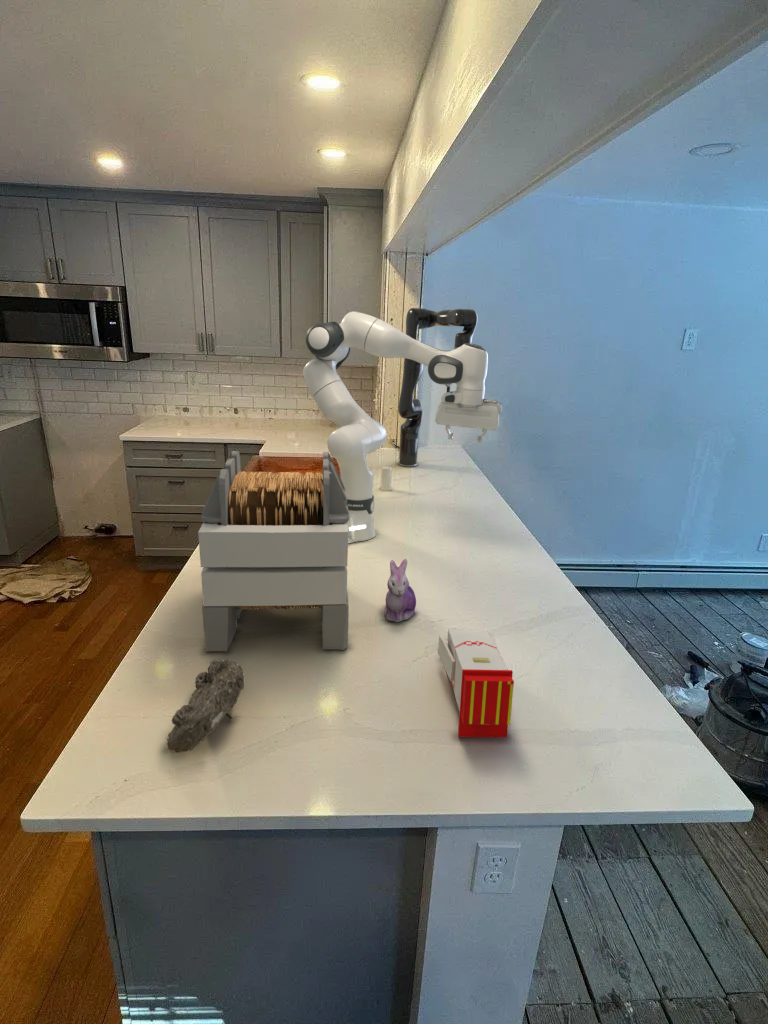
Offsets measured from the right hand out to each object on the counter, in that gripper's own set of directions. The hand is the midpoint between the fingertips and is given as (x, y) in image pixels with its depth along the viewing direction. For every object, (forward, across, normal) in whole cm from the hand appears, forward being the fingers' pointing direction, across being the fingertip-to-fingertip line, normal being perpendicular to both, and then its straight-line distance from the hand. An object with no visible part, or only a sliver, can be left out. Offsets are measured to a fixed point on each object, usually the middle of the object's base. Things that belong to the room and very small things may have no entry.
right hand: (458, 395), depth 250 cm
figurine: (+40, +5, -126) cm, 132 cm away
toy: (+40, +26, -152) cm, 159 cm away
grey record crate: (+40, -24, -136) cm, 144 cm away
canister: (+40, -26, -23) cm, 52 cm away
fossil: (+40, -20, -175) cm, 181 cm away
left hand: (+4, +12, -72) cm, 73 cm away
